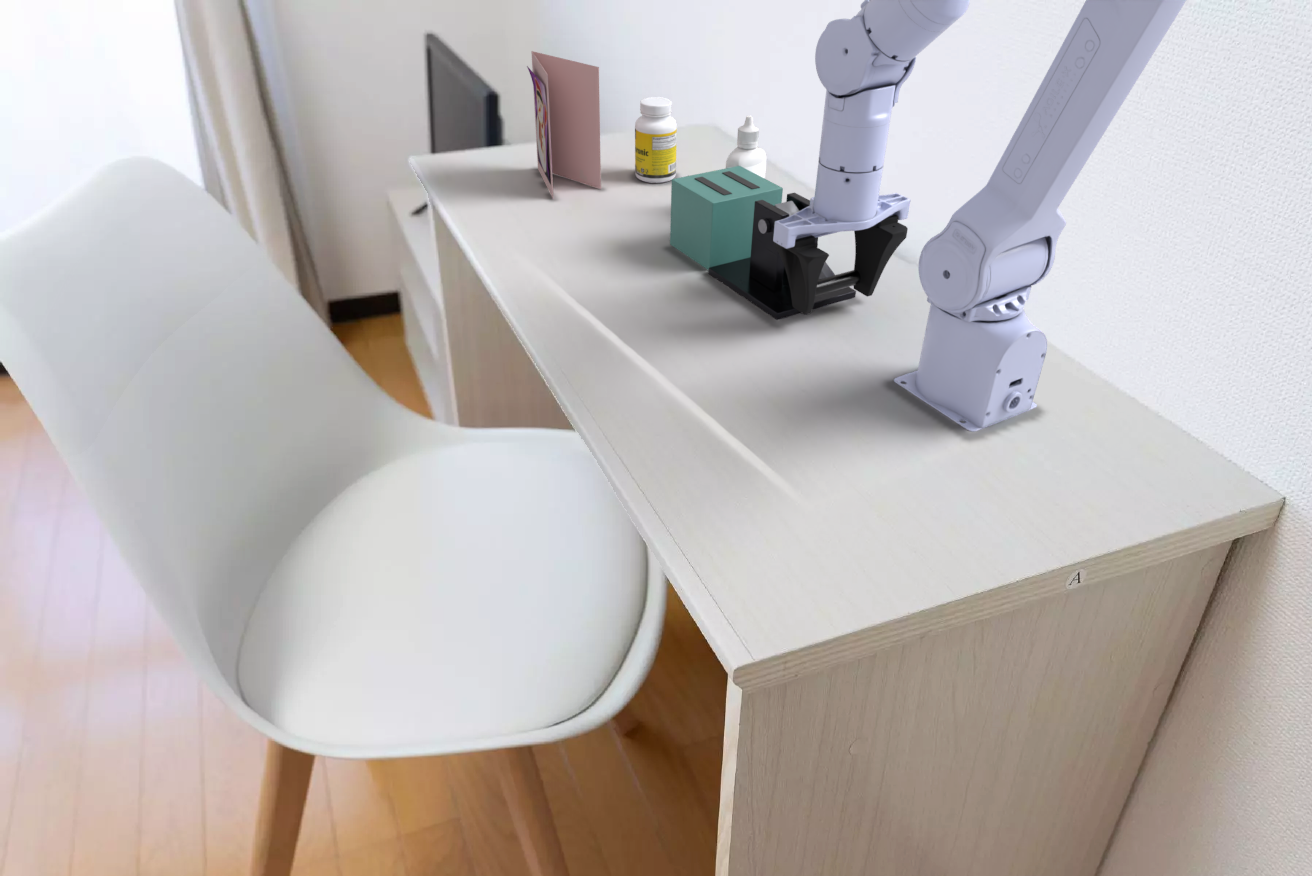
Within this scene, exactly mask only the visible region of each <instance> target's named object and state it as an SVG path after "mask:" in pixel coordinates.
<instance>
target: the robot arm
mask: <svg viewBox="0 0 1312 876" xmlns="http://www.w3.org/2000/svg"><path fill="white" fill-rule="evenodd" d="M1186 2H1187V0H1085V2H1084V3H1083V5H1082V7H1081V9H1080V11H1079V12H1078V15H1077V16H1076V18H1075V20H1074V22H1073V23H1072V25H1071V27H1070V29H1069V31H1068V33H1067V34H1066V36H1065V38H1064V40H1063V42H1062V44H1061V46H1060V48H1059V49H1058V52H1057V53H1056V55H1055V57H1054V58H1053V60H1052V62H1051V64H1050V66H1049V68H1048V70H1047V72H1046V73H1045V75H1044V77H1043V79H1042V81H1041V83H1040V85H1039V87H1038V89H1037V90H1036V92H1035V94H1034V96H1033V98H1032V100H1031V101H1030V103H1029V105H1028V107H1027V109H1026V111H1025V112H1024V114H1023V116H1022V118H1021V119H1020V122H1019V124H1018V125H1017V128H1016V129H1015V131H1014V133H1013V135H1012V137H1011V138H1010V140H1009V141H1008V144H1007V146H1006V147H1005V150H1004V151H1003V153H1002V156H1001V157H1000V159H999V161H998V163H997V165H996V167H995V169H994V170H993V172H992V174H991V175H990V177H989V179H988V182H987V183H986V184H985V185H984V187H982V189H980V190H979V191H978V192H977V193H976V194H975V195H973V196H972V197H971V198H970V199H969V200H967V201H966V202H965V203H964V204H962V205H961V206H960V207H959V208H957V210H956V211H954V213H952V215H951V217H950V219H949V220H948V223H947V224H946V226H945V227H944V228H943V229H942V230H941V231H940V232H939V233H937V234H936V235H934V236H932V237H931V238H930V239H928V241H926V243H925V245H923V248H922V249H921V251H920V255H919V258H918V277H919V282H920V285H921V287H922V290H923V291H924V294H925V295H926V296H927V297H926V302H927V303H929V311H928V314H927V315H928V316H927V321H926V326H925V331H924V336H923V339H922V345H921V351H920V356H919V360H918V361H919V362H918V365H917V366H918V367H917V370H914V371H911V372H908V373H905V374H902V375H900V376H897V377H894V378H893V382H894V383H895V384H897V385H898V386H900V387H901V388H903V389H904V390H906V391H907V392H909V393H910V394H912V395H914V397H917V398H918V399H920V400H921V401H923V402H924V403H925V404H927V405H929V406H930V407H931V408H933V409H935V410H936V411H938V412H940V413H941V414H942V415H944V416H945V417H947V418H948V419H950V420H951V421H953V422H955V423H956V424H957V425H959V426H961V427H962V428H963V429H965V430H966V431H968V432H972V433H975V432H979V431H980V430H983V429H986V428H988V427H990V426H993V425H995V424H998V423H1001V422H1003V421H1006V420H1008V419H1011V418H1014V417H1016V416H1019V415H1021V414H1023V413H1026V412H1029V411H1032V410H1034V409H1036V408H1037V406H1038V405H1037V403H1036V402H1034V398H1035V395H1036V391H1037V388H1038V383H1039V380H1040V376H1041V373H1042V371H1043V366H1044V362H1045V359H1046V355H1047V351H1048V339H1047V336H1046V334H1045V333H1044V332H1043V331H1042V330H1041V329H1040V328H1038V327H1037V326H1036V325H1034V323H1033V322H1031V320H1030V319H1029V317H1028V316H1027V314H1026V311H1025V309H1024V307H1025V304H1026V301H1028V300H1029V297H1030V295H1031V294H1030V293H1031V290H1032V286H1035V285H1037V284H1039V283H1041V282H1042V281H1043V280H1044V279H1045V278H1046V277H1047V276H1048V275H1049V274H1050V272H1051V270H1052V268H1053V266H1054V263H1055V257H1056V249H1057V243H1058V240H1059V238H1060V235H1061V234H1062V232H1063V231H1064V229H1065V228H1066V226H1067V221H1066V219H1065V217H1064V215H1063V213H1062V211H1061V210H1060V208H1059V207H1060V206H1061V204H1062V203H1063V201H1064V199H1065V197H1066V196H1067V194H1068V192H1069V191H1070V189H1071V188H1072V186H1073V184H1074V182H1075V181H1076V179H1077V178H1078V176H1079V175H1080V173H1081V171H1082V170H1083V168H1084V167H1085V165H1086V164H1087V162H1088V160H1089V159H1090V157H1091V155H1092V154H1093V152H1094V150H1095V149H1096V148H1097V145H1098V144H1099V142H1100V141H1101V140H1102V138H1103V136H1104V135H1105V133H1106V132H1107V130H1108V128H1109V126H1110V125H1111V123H1112V121H1113V120H1114V118H1115V116H1116V115H1117V113H1118V112H1119V110H1120V109H1121V107H1122V105H1123V104H1124V102H1125V101H1126V99H1127V97H1128V95H1130V93H1131V91H1132V89H1133V87H1135V84H1136V83H1137V81H1138V79H1139V78H1140V76H1141V75H1142V73H1143V72H1144V70H1145V68H1146V67H1147V65H1148V63H1149V61H1151V58H1152V57H1153V55H1154V53H1155V52H1156V50H1157V49H1158V47H1159V45H1160V44H1161V43H1162V41H1163V40H1164V37H1165V36H1166V35H1167V33H1168V31H1169V30H1170V28H1171V26H1172V25H1173V23H1174V21H1175V20H1176V18H1177V17H1178V15H1179V14H1180V12H1181V10H1182V8H1183V7H1184V5H1185V3H1186ZM970 4H971V0H864V1H862V2H861V4H860V9H859V11H858V12H857V13H856V15H853V17H852V18H837V19H834V20H831V21H829V22H828V24H827V25H826V27H825V28H824V29H823V32H822V33H821V34H820V36H819V38H818V40H817V42H816V43H817V44H816V46H815V47H816V48H815V53H814V54H815V55H814V63H815V69H816V74H817V76H818V79H819V82H820V83H821V84H822V86H823V87H824V89H826V90H825V99H824V108H823V117H822V118H823V119H822V125H821V133H820V134H821V135H820V144H819V150H818V163H817V172H816V180H815V190H814V196H812V197H810V198H809V200H810V206H808V207H806V208H804V209H802V210H801V211H799V212H797V213H795V214H793V215H791V216H789V217H787V218H785V219H782V220H778V221H775V225H774V237H773V241H774V245H775V247H776V249H777V251H778V253H779V255H780V257H781V259H782V262H783V264H784V267H785V270H786V273H787V277H788V281H789V286H790V292H791V298H792V306H793V307H794V308H795V309H797V310H798V311H800V312H801V313H800V314H803V315H809V314H811V313H812V311H813V310H814V309H813V306H814V301H815V295H816V288H817V283H818V280H819V276H820V273H821V271H822V268H823V266H824V264H825V262H826V261H827V260H828V258H829V256H830V254H829V253H828V252H826V251H824V250H822V249H821V248H819V247H818V246H819V244H818V243H815V238H817V237H818V238H821V237H825V236H829V235H832V234H836V233H840V232H841V233H842V232H854V245H855V246H854V247H855V251H854V252H855V253H854V254H855V255H854V266H853V270H857V271H858V272H859V274H860V277H861V280H860V283H859V284H857V285H853V286H852V287H853V289H854V290H855V291H856V292H858V293H860V294H862V295H863V296H865V297H867V298H868V297H872V296H873V293H874V292H875V290H876V287H877V286H878V283H879V281H880V279H881V276H882V274H883V272H884V270H885V268H886V265H887V264H888V262H889V261H890V259H891V257H892V256H893V255H894V253H895V252H896V250H897V249H898V247H899V246H900V245H901V244H902V243H903V242H904V241H905V240H906V239H907V236H908V230H909V229H908V226H906V225H905V224H902V223H900V222H899V221H903V220H907V219H908V218H909V211H910V205H911V198H909V197H906V196H905V195H902V194H900V193H897V192H894V193H893V192H892V193H888V194H880V193H881V192H880V191H881V185H882V178H883V171H884V164H885V158H886V151H887V145H888V138H889V132H890V124H891V118H892V112H893V108H894V107H895V105H896V104H897V103H899V96H900V91H901V88H902V86H903V85H904V83H905V82H906V81H907V80H908V79H909V77H910V76H911V74H912V72H913V71H914V68H915V65H916V60H917V56H918V55H919V54H921V52H923V51H924V50H925V49H927V47H928V46H930V45H931V44H932V43H933V42H934V41H935V40H936V39H938V38H939V37H940V36H941V35H942V34H943V33H944V32H945V31H947V30H948V29H949V28H950V27H951V26H952V25H953V24H954V23H956V22H957V21H958V20H959V19H960V18H961V17H963V16H964V15H965V13H966V12H967V11H968V9H969V7H970ZM826 263H827V262H826ZM812 309H813V310H812ZM961 421H962V422H961Z"/></svg>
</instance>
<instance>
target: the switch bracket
mask: <svg viewBox="0 0 1312 876" xmlns="http://www.w3.org/2000/svg"><path fill="white" fill-rule="evenodd" d="M788 201H793V203H794V204H795V205H796V207H797V208H798V209H799V211H801V210H802V209H804V208H806V207H808V206H810V199H808V198H807V197H804V196H802V195H800V194H799V193H796V192H790V193H786V201H785V202H788ZM787 217H789V214H788V213H787V212H785V211H783V210H781V209H779V208H777V207H775V206H774V205H772V204H770V203H768V202H766V201H764V200H758V201H755V205H754V218H753V231H752V245H751V257H749V258H745V259H741V260H737V261H733V262H729V263H725V264H721V265H717V266H713V267H709V270H707V272H708V275H710V276H711V277H712V278H714V279H715V280H717V281H718V282H720V283H721V284H723V285H724V286H726V287H727V288H729V289H730V290H732V291H733V292H735V294H737V295H738V296H741V297H742V298H743V299H745V300H746V301H748V302H749V303H751V304H752V305H753V306H754V307H755V306H756V307H757V308H758V309H760V310H761V311H763V312H764V313H766V314H767V315H768V316H770V317H771V318H773V319H774V320H776V321H778V320H781V319H785V318H788V317H792V316H796V315H799V314H802V313H801V312H800V311H798V310H797V309H795V308H794V307H793V306H792V298H791V292H790V286H789V281H788V277H787V273H786V270H785V267H784V264H783V262H782V259H781V257H780V255H779V253H778V251H777V249H776V247H775V245H774V241H773V237H774V225H775V221H778V220H782V219H785V218H787ZM818 242H819V237H817V238H815V243H818ZM856 294H857V290H855V289H854V288H852V287H851V286H850V287H846V288H843V289H839V290H836V291H832V292H829V293H825V294H822V295H818V296H815V301H814V306H813V309H812V311H813V310H816V309H819V308H823V307H826V306H831V305H834V304H837V303H841V302H843V301H848V300H851V299H854V298H856V296H857V295H856Z"/></svg>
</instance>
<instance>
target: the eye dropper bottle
mask: <svg viewBox="0 0 1312 876" xmlns="http://www.w3.org/2000/svg"><path fill="white" fill-rule="evenodd" d="M736 137H737V138H736V147H735V148H734V149H733V150H732V151H731V152H730V153H729V155H728V156H727V158H726V161H725V169H726V168H731V167H736V166H741V167H743V168H745V169H747V170H749V171H751V172H753V173H755V174H757V175H759V176H761V177H763V178H764V179H766V172H767V171H766V169H767V153H766V150H764V149H763V148H761V147H760V146H759V139H760V138H759V137H760V128H759V127H757V126H755V125H754V117H753V115H746V116H745V120H744V124H743V125H741V126H739V127H738V128H737V136H736Z"/></svg>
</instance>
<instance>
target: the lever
mask: <svg viewBox="0 0 1312 876" xmlns="http://www.w3.org/2000/svg"><path fill="white" fill-rule="evenodd" d="M774 206H775V207H777V208H779V209H781V210H783V211H785V212H787V213H788V214H789V216H791V215H793V214H795V213H797V212H799V209H798V208H797V207H796V205H795V204H794V203H793V201H788V202H786V201H784V202H782V203H779V204H775V205H774ZM860 280H861V277H860V274H859V272H858V271H857V270H854V269H852V270H848V271H845V272H841V273H837V274H835V272H834V271H833V270H832V268H831V267H830V266H829V265H828V263H827V262H825V264H824V266H823V268H822V271H821V273H820V276H819V280H818V283H817V288H816V295H815V296H818V295H822V294H825V293H829V292H832V291H836V290H839V289H843V288H846V287H850V288H851V287H854V286H853V285H857V284H859V283H860Z"/></svg>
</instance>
